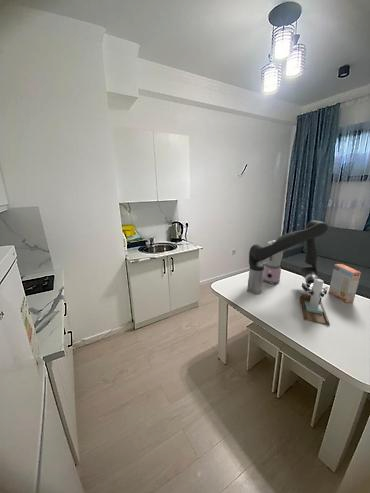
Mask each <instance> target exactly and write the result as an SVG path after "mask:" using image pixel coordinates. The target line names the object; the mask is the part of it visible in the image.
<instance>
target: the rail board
mask: <svg viewBox="0 0 370 493" xmlns="http://www.w3.org/2000/svg"><path fill="white" fill-rule="evenodd" d="M322 298H323V297H320V301H319V304H320V305H321V308H322V310H323V314H319V313H314V312H308V311H306V307H305V302H309V303H310V299H311V294H307V293H306V294H305V293H300V296H299V302H300V306H301V307H300V308H301V313H302V317H303V321H308V322H313V323H315V324H317V323H318V324H320V325H322V324H323V325H327V326H330V324H331V322H330V320H329V318H328V315H327V313H326V310H325V307H324V305H323V302H322Z"/></svg>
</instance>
